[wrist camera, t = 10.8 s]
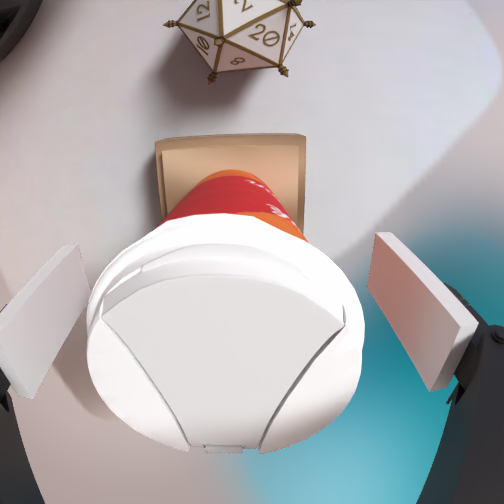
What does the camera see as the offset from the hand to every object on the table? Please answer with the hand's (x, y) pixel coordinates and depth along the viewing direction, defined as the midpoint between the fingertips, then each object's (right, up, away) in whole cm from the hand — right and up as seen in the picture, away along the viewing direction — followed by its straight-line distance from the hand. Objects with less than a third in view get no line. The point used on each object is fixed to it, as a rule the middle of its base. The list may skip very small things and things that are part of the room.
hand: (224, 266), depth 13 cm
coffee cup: (0, +3, +8) cm, 9 cm away
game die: (0, +17, +6) cm, 18 cm away
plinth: (0, +5, +12) cm, 13 cm away
